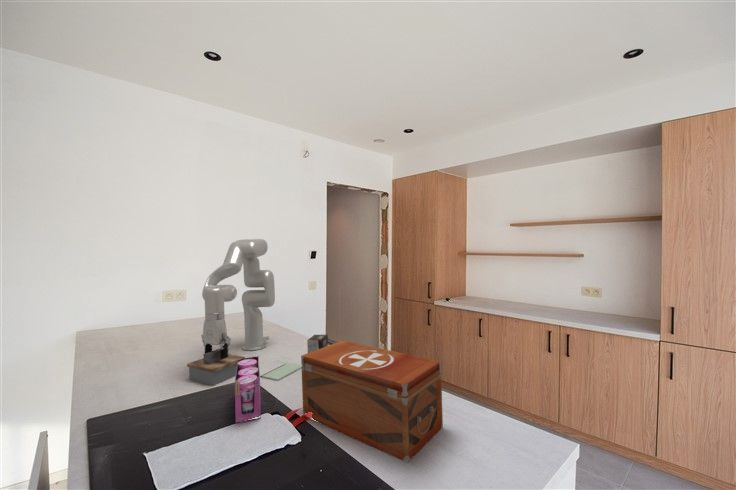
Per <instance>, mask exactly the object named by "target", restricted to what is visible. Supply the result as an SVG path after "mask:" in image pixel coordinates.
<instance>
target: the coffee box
mask: <svg viewBox="0 0 736 490" xmlns="http://www.w3.org/2000/svg"><path fill="white" fill-rule="evenodd" d="M328 339H329V338H328V334H313V335H312V336H311V337H310V338H308V339H307V340H306V341H307V344H306V345H307V353H310V352H313V351H315V350H318V349H321V348H323V347H326V346H329V341H328Z"/></svg>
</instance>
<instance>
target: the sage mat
mask: <svg viewBox="0 0 736 490" xmlns="http://www.w3.org/2000/svg"><path fill="white" fill-rule="evenodd" d="M274 362H275V363H278V364H279V363H280V364H282V365H280V366H278V367H276V368H274V369H272V370H269V371H268V372H266V373H263V374H262V375H260V378H263V379H267V380H273V381H277V382H279V381H281V380H283V379H285V378H286V377H288V376H290V375H291V374H294V373H296V372H298V371H299V370H302V365H301V364H298V363H293V362H287V361H282V360H281V361H280V360H274V361H273V363H274Z"/></svg>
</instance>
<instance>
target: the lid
mask: <svg viewBox="0 0 736 490" xmlns="http://www.w3.org/2000/svg"><path fill="white" fill-rule="evenodd" d="M220 349H221V348H217V349H214V350H212V351H211V352H208V353H205V352H204V353H203V357H202V358H201V359H200V358H199V359H197V360H195V361H191V362H189V363H187V365H186V367H187V368H189V367H190V368H194V369H199V370H203V371H207V372H212V373H213V372H216V371H218V370H221V369H223V368H226V367H228V366H230V365H233V364H235V363H237V362H238V359H241V358H246V357H245V356H241V355H237V354H236V355H235V354H231V353H229V347H228V348H227V352H228V357H226V358H223V359H220Z"/></svg>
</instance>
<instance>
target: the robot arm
mask: <svg viewBox="0 0 736 490" xmlns="http://www.w3.org/2000/svg"><path fill="white" fill-rule="evenodd" d="M268 248H269V246H268V242H267V241H266V240H265V239H264V238H257V239H256V238H255V239H253V238H252V239H250V238H249V239H247V238H245V239H239V240H236V241H234V242H231V243H230V244H229V246H228V249H227V253H226V255H225V258H224V260H223V263H222V265H221V266H219V267H217V268H216V269H214V270H213V272H211V273H210V274H209V275H208V276H207V278H206V281H205V282H204V285H203V288H202V293H201V294H202V296H201V297H202V299H203V301H204V317H205V318H204V321H203V327H202V328H203V329H202V334H201V335H200V336H201V337H200V338H201V340H202V344H203V347H204V354H205V353H208V352H211V351H213V345H214V346H219V347H220V348H221V349H220V348H219V349H220V359H223V358H226V357H228V352H229V351H228V352H227V348H228V349H229V347H230V345H231V344H230V343H231V340H232V339H231V337H230V336H229V335H228V332H227V323H226V319H225V303H226V302H227V303H228V302H232V301H234V300H235V299H236V298H237V295H238V290H237V288H236V287H235V286H234V285H232V284H219V283H220V282H221V281H223V280H225V279H228V278H231V277H232V276H235V275H237V274H239V273H240V272H241V271H242V266H243V283H244V286H245V287H246V288H263V289H249V290H245V291H244V292H243V293H242V294H241V303H242V304H241V305H242V308H243V317H244V318H243V319H244V321H243V322H244V344H243V345H242V347H241V348H242V350H244V351H249V352H251V351H258V350H261V349H264V348H266V347H267V343H266V341H268V340H270V336H264V327H263V326H264V325H263V322H264V321H263V313H262V311H261V310H260V308H270V307H273V306H274V305H275V302H276V294H275V293H276V292H275V289H276V288H275V276H274V273H273V272H272V270H269V269H261V267H260V259H259V257H262V256H264V255H266V254H267V251H268Z"/></svg>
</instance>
